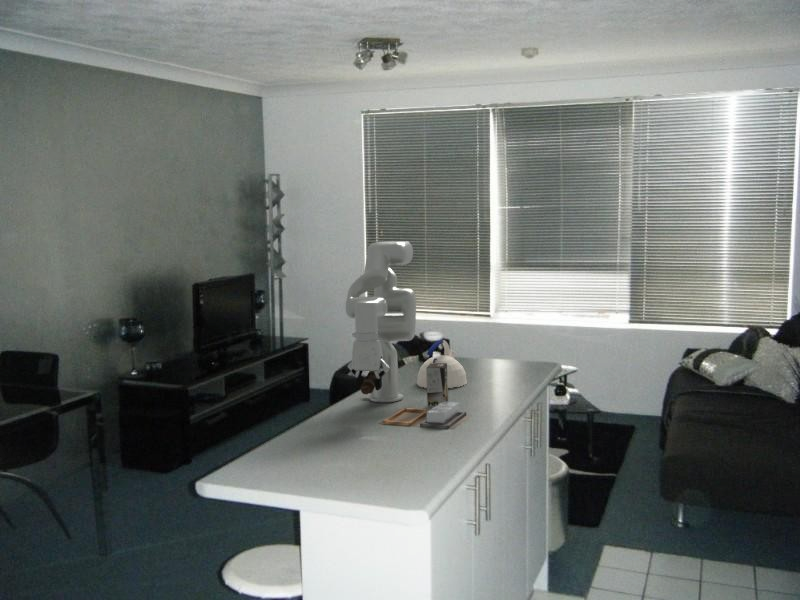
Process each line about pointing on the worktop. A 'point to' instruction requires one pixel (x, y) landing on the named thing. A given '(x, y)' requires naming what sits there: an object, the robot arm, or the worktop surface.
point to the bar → (443, 413)
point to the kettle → (453, 367)
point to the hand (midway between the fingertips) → (369, 388)
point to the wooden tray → (420, 419)
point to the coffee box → (436, 384)
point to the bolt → (368, 383)
